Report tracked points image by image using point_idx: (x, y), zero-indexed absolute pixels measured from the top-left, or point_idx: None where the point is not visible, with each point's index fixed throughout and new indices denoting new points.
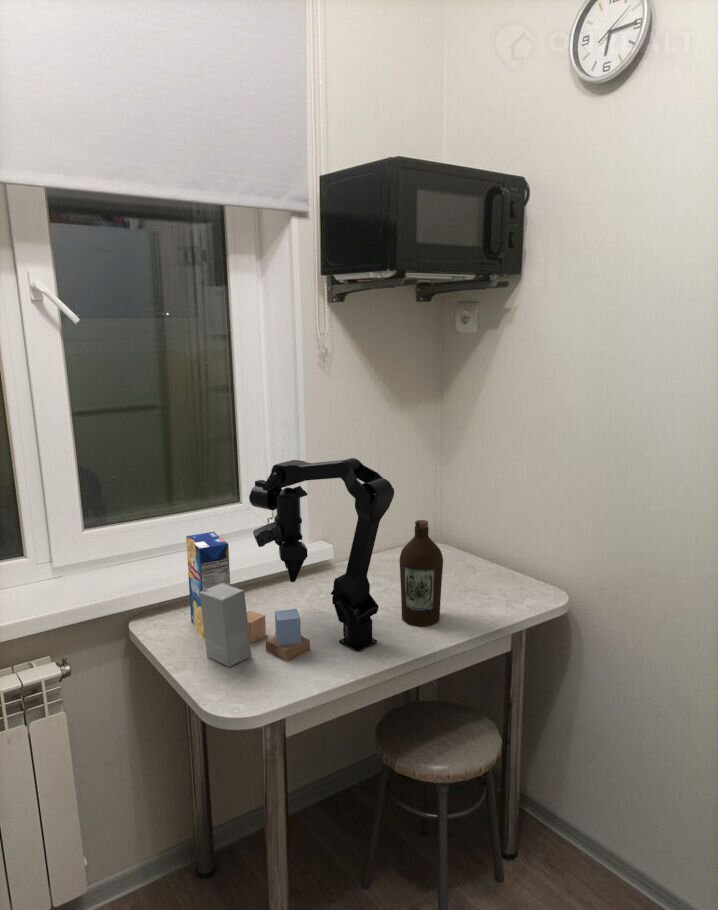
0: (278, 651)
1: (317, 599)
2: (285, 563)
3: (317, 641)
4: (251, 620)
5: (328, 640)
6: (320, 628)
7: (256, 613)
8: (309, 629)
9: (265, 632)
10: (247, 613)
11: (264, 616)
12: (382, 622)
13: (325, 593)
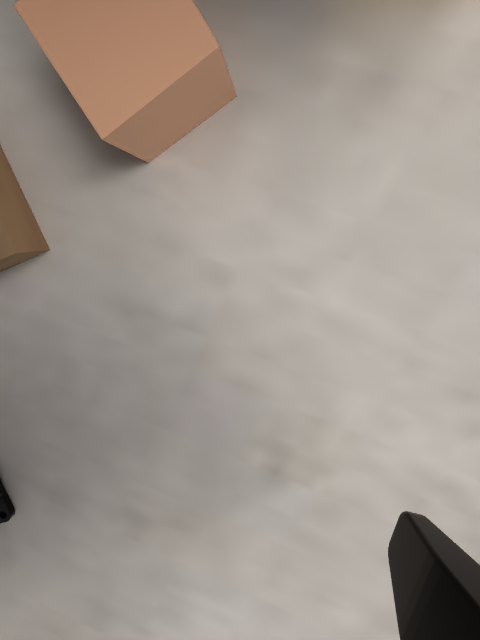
0: None
1: None
2: (432, 561)
3: (8, 353)
4: (50, 19)
5: (3, 395)
6: (117, 411)
7: (149, 88)
8: (125, 367)
9: (143, 159)
10: (173, 20)
11: (101, 135)
12: (83, 619)
13: None
